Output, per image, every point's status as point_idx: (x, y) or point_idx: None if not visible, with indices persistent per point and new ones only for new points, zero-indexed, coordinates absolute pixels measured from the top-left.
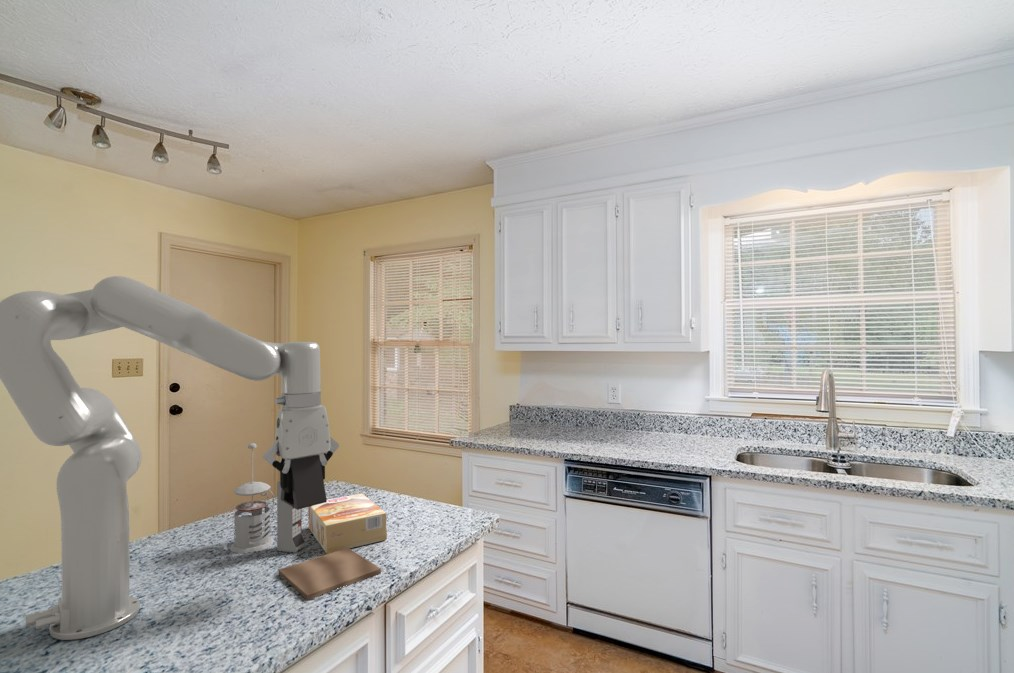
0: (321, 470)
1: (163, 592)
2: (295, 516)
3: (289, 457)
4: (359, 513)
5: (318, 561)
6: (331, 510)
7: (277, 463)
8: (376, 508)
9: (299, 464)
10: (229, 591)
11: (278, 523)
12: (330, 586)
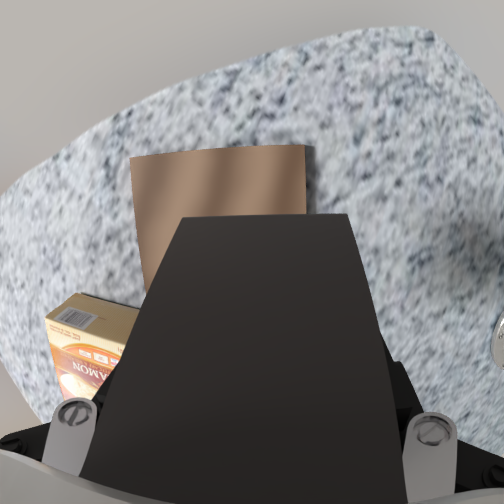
0: (122, 358)
1: (457, 358)
2: None
3: (497, 501)
4: (90, 358)
5: None
6: None
7: (501, 477)
8: (57, 355)
9: (314, 463)
10: (399, 296)
11: None
12: (248, 148)
